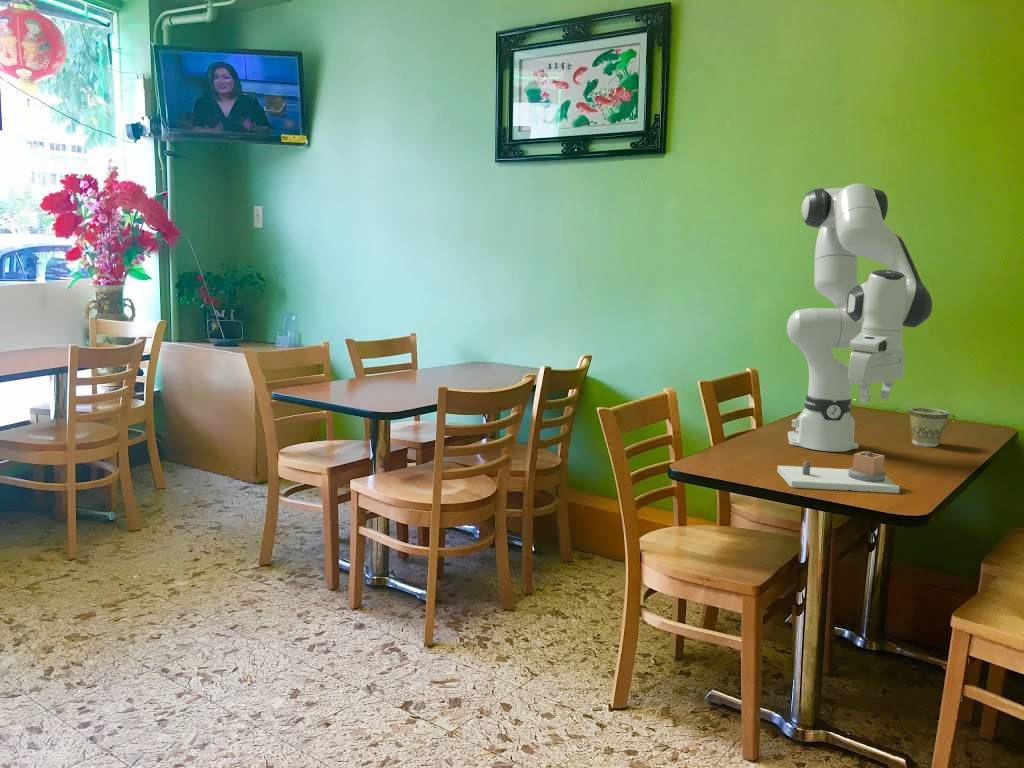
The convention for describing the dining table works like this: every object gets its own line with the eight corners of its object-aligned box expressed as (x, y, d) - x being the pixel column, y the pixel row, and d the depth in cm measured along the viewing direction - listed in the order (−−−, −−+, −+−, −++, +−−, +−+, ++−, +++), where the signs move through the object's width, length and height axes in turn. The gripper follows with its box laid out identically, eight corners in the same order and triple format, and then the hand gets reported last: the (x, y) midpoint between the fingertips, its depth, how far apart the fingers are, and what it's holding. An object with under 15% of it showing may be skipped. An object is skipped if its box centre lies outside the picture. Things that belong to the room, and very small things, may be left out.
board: (777, 471, 201) (779, 440, 200) (877, 476, 199) (880, 445, 198) (791, 487, 187) (794, 454, 186) (898, 493, 185) (902, 460, 184)
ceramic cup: (917, 448, 232) (921, 413, 230) (899, 440, 242) (903, 407, 240) (961, 449, 233) (965, 414, 231) (941, 440, 242) (945, 408, 241)
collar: (852, 470, 192) (853, 454, 192) (862, 467, 196) (864, 451, 195) (872, 475, 189) (874, 458, 188) (882, 472, 192) (884, 455, 191)
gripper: (888, 337, 196) (882, 394, 199) (845, 342, 183) (839, 402, 185) (915, 340, 191) (908, 398, 194) (873, 345, 178) (866, 407, 181)
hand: (874, 400), depth 190 cm, fingers open, 8 cm apart
